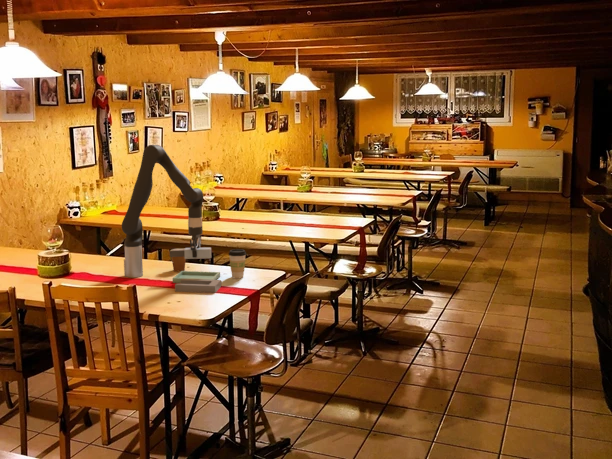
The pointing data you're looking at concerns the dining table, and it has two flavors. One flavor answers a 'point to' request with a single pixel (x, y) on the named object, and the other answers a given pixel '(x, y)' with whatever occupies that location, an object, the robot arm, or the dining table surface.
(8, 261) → the dining table surface
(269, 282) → the dining table surface
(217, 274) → the tray
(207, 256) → the tall grey bar
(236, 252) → the coffee cup
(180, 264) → the disposable coffee cup
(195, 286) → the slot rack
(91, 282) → the dining table surface
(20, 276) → the dining table surface
